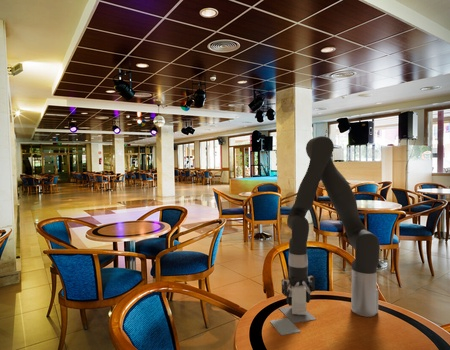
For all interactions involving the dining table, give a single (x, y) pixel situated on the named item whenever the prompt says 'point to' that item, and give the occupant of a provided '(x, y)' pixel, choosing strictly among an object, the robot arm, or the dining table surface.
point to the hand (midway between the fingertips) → (298, 303)
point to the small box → (299, 300)
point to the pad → (284, 326)
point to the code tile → (296, 315)
